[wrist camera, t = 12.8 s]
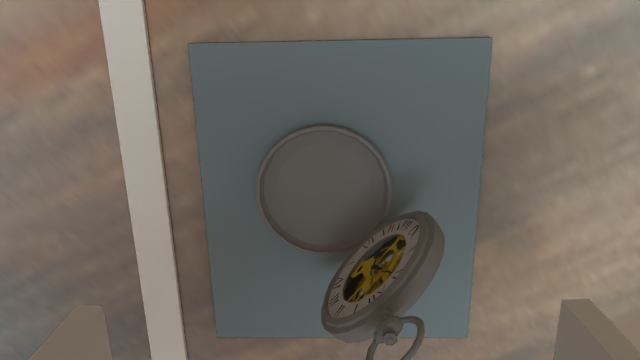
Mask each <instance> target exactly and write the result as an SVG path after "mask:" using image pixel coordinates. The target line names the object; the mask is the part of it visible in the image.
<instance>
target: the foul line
mask: <svg viewBox="0 0 640 360" xmlns="http://www.w3.org/2000/svg"><path fill="white" fill-rule="evenodd" d="M98 1H99V8H100V14H101V21H102V28H103V35H104V41H105V48H106V55H107V61H108V68H109V75H110V82H111V88H112V95H113V102H114V109H115V115H116V122H117V129H118V135H119V142H120V149H121V156H122V162H123V169H124V176H125V183H126V189H127V196H128V203H129V209H130V216H131V223H132V230H133V236H134V243H135V250H136V257H137V263H138V270H139V277H140V283H141V290H142V297H143V304H144V310H145V317H146V324H147V331H148V337H149V344H150V351H151V357H152V360H188V357H187V349H186V341H185V333H184V324H183V316H182V308H181V300H180V292H179V283H178V275H177V267H176V259H175V251H174V242H173V234H172V226H171V218H170V210H169V201H168V193H167V185H166V177H165V169H164V160H163V152H162V144H161V136H160V128H159V119H158V111H157V103H156V95H155V86H154V78H153V70H152V62H151V54H150V45H149V37H148V29H147V21H146V13H145V4H144V0H98Z"/></svg>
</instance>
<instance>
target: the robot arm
mask: <svg viewBox="0 0 640 360" xmlns="http://www.w3.org/2000/svg"><path fill="white" fill-rule="evenodd" d="M29 360H112V355H111V350H110V344H109V338H108V333H107V327H106V321H105V316H104V310H103V306H76V307H75V308H74V309H73V310H72V311H71V312H70V314H69V315H68V316H67V317H66V318H65V319H64V320H63V321H62V323H61V324H60V325H59V326H58V327H57V328H56V329H55V331H54V332H53V333H52V334H51V335H50V336H49V337H48V338H47V340H46V341H45V342H44V343H43V344H42V345H41V346H40V347H39V349H38V350H37V351H36V352H35V353H34V354H33V355H32V357H31V358H30V359H29ZM553 360H640V351H639V350H638V349H637V348H636V347H635V346H634V345H633V344H632V343H631V342H630V341H629V340H628V339H627V338H626V337H625V336H624V335H623V334H622V333H621V332H620V331H619V330H618V328H616V326H615V325H614V324H613V323H612V322H611V321H610V320H609V319H608V318H607V317H606V316H605V315H604V314H603V313H602V312H601V311H600V310H599V309H598V308H597V307H596V306H595V305H594V304H593V303H592V302H591V301H590V300H589V299H570V300H562V303H561V310H560V317H559V324H558V330H557V337H556V344H555V351H554V357H553Z"/></svg>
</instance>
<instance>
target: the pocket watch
mask: <svg viewBox="0 0 640 360" xmlns="http://www.w3.org/2000/svg"><path fill="white" fill-rule="evenodd" d="M256 199H257V204H258V209H259V211H260V214H261V216H262V219H263V220H264V222H265V223H266V225H267V227H268V228H269V229H270V230H271V231H272V232H273V233H274V234H275V235H276V236H277V237H278V239H279V240H281V241H282V242H284V243H286V244H287V245H289V246H291V247H292V248H294V249H296V250H299V251H301V252H305V253H310V254H314V255H335V254H339V253H343V252H347V251H349V250H352V249H353V251H352V252H351V253H350V254H349V256H348V257H347V258H346V259H345V260H344V262H343V263H342V265H341V266H340V268H339V269H338V271H337V272H336V274H335V275H334V277H333V279H332V281H331V282H330V284H329V286H328V289H327V291H326V294H325V297H324V300H323V305H322V308H321V322H322V325H323V327H324V329H325V330H326V331H327V332H329V333H330V334H332V335H333V336H334V337H336V338H337V339H341V340H343V341H345V342H347V343H348V342H360V341H364V340H367V339H370V338H372V337H374V341H373V342H372V344H371V345H370V347H369V349H368V352H367V356H366V360H373V355H374V352H375V350H376V347H377V345H378V343H385V344H386V345H394V344H395V343H396V342H397V336H398V335H399V334H400V332H401V331H402V328H403V324H405V323H412V324H415V325H416V326H417V335H416V339H415V341H414V343H413V345H412V347H411V349H410V350H409V351H408V352H407V353H406V354H405V355H404V356H403V357H402V358H401V359H400V360H410V359H411V358H412V357H413V356H414V355H415V353H416V352H417V350H418V348H419V347H420V345H421V343H422V340H423V337H424V334H425V328H424V322H423V320H422V319H420V318H419V317H416V316H406V317H402V316H403V315H404V314H405V313H406V312H407V311H408V310H409V309H411V307H412V306H413V305H414V304H415V303H416V302H417V300H418V299H419V298H420V297H421V296H422V295H423V293H424V292H425V290H426V289H427V287H428V286H429V284H430V283H431V281H432V280H433V278H434V276H435V274H436V272H437V270H438V268H439V266H440V263H441V260H442V257H443V254H444V248H445V238H444V233H443V232H442V230H441V228H440V226H439V225H438V223H437V222H436V220H435V219H434V218H433V217H432V216H431V215H430V214H428V213H427V212H422V211H414V212H410V213H406V214H402V215H400V216H397V217H394V218H393V219H391V220H389V221H387V222H386V223H385V222H384V220H385V219H386V217H387V213H388V210H389V207H390V204H391V199H392V185H391V178H390V175H389V172H388V169H387V166H386V163H385V160H384V159H383V158H382V156H381V155H380V154H379V152H378V151H377V150H376V148H375V147H374V146H373V145H372V144H371V142H369V141H368V140H366V139H364V138H363V137H362V136H360V135H359V134H357V133H354V132H352V131H350V130H349V129H347V128H342V127H335V126H328V125H316V126H311V127H306V128H303V129H300V130H296V131H293V132H292V133H290V134H289V135H287V136H286V137H284V138H283V139H282V140H280V141H279V142H278V143H276V144H275V145H274V146H273V147H272V149H271V150H270V152H269V153H268V155H267V156H266V157H265V159H264V160H263V162H262V163H261V166H260V169H259V173H258V177H257V182H256ZM402 250H403V251H404V250H405V251H404V252H403V251H402ZM401 251H402V252H401ZM399 252H401V253H400V254H398V253H399ZM390 257H392V258H391V259H390V261H389V260H388V261H389V262H388V261H386V260H387V259H389V258H390ZM384 262H385V263H384ZM383 263H384V264H383ZM372 283H373V284H372ZM371 284H372V285H371ZM363 288H364V289H365V290H363ZM362 292H363V293H362ZM361 293H362V294H361ZM360 294H361V295H360ZM367 295H368V296H367ZM364 296H365V298H364ZM366 296H367V297H366ZM363 298H364V299H363Z"/></svg>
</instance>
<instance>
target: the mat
mask: <svg viewBox="0 0 640 360" xmlns="http://www.w3.org/2000/svg"><path fill="white" fill-rule="evenodd" d="M492 39H493V38H491V37H483V38H433V39H382V40H331V41H281V42H230V43H189V44H188V49H189V59H190V69H191V79H192V89H193V100H194V110H195V120H196V130H197V140H198V150H199V160H200V171H201V181H202V191H203V201H204V211H205V221H206V231H207V242H208V252H209V262H210V272H211V282H212V292H213V302H214V313H215V323H216V333H217V338H336V337H334V336H333V335H332V334H330V333H329V332H327V331H326V330H325V329H324V327H323V325H322V322H321V308H322V305H323V300H324V297H325V294H326V291H327V289H328V286H329V284H330V282H331V281H332V279H333V277H334V275H335V274H336V272H337V271H338V269H339V268H340V266H341V265H342V263H343V262H344V260H345V259H346V258H347V257H348V256H349V254H350V253H351V252H352V251H353V249H352V250H349V251H347V252H343V253H339V254H335V255H314V254H310V253H305V252H301V251H299V250H296V249H294V248H292V247H291V246H289V245H287V244H286V243H284V242H282V241H281V240H279V239H278V237H277V236H276V235H275V234H274V233H273V232H272V231H271V230H270V229H269V228H268V227H267V225H266V223H265V222H264V220H263V219H262V216H261V214H260V211H259V209H258V204H257V199H256V182H257V177H258V173H259V169H260V166H261V163H262V162H263V160H264V159H265V157H266V156H267V155H268V153H269V152H270V150H271V149H272V147H273V146H274V145H275V144H276V143H278V142H279V141H280V140H282V139H283V138H284V137H286V136H287V135H289V134H290V133H292V132H293V131H296V130H300V129H303V128H306V127H311V126H316V125H328V126H335V127H342V128H347V129H349V130H350V131H352V132H354V133H357V134H359V135H360V136H362V137H363V138H364V139H366V140H368V141H369V142H371V144H372V145H373V146H374V147H375V148H376V150H377V151H378V152H379V154H380V155H381V156H382V158H383V159H384V160H385V163H386V166H387V169H388V172H389V175H390V178H391V185H392V199H391V204H390V207H389V210H388V213H387V217H386V219H385V220H384V222H385V223H386V222H387V221H389V220H391V219H393V218H394V217H397V216H400V215H402V214H406V213H410V212H414V211H422V212H427V213H428V214H430V215H431V216H432V217H433V218H434V219H435V220H436V222H437V223H438V225H439V226H440V228H441V230H442V232H443V233H444V238H445V248H444V254H443V257H442V260H441V263H440V266H439V268H438V270H437V272H436V274H435V276H434V278H433V280H432V281H431V283H430V284H429V286H428V287H427V289H426V290H425V292H424V293H423V295H422V296H421V297H420V298H419V299H418V300H417V302H416V303H415V304H414V305H413V306H412V307H411V309H409V310H408V311H407V312H406V313H405V314H404V315H403V316H402V317H406V316H416V317H419V318H420V319H422V320H423V322H424V328H425V334H424V337H423V338H467V335H468V323H469V311H470V299H471V287H472V275H473V264H474V252H475V240H476V228H477V216H478V204H479V193H480V181H481V169H482V157H483V145H484V133H485V122H486V110H487V98H488V86H489V74H490V62H491V51H492ZM402 251H403V250H402ZM402 251H401V252H402ZM404 251H405V250H404ZM404 251H403V252H404ZM401 252H399V253H398V254H400V253H401ZM391 258H392V257H390V258H389V259H387V260H386V261H388V260H389V261H390V259H391ZM389 261H388V262H389ZM384 263H385V262H384ZM384 263H383V264H384ZM372 284H373V283H372ZM372 284H371V285H372ZM363 290H365V289H364V288H363ZM362 293H363V292H362ZM362 293H361V294H362ZM361 294H360V295H361ZM367 296H368V295H367ZM367 296H366V297H367ZM364 298H365V296H364ZM364 298H363V299H364ZM416 335H417V326H416V325H415V324H412V323H405V324H403V328H402V331H401V332H400V334H399V335H398V336H397V338H416ZM372 338H374V337H372Z"/></svg>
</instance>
